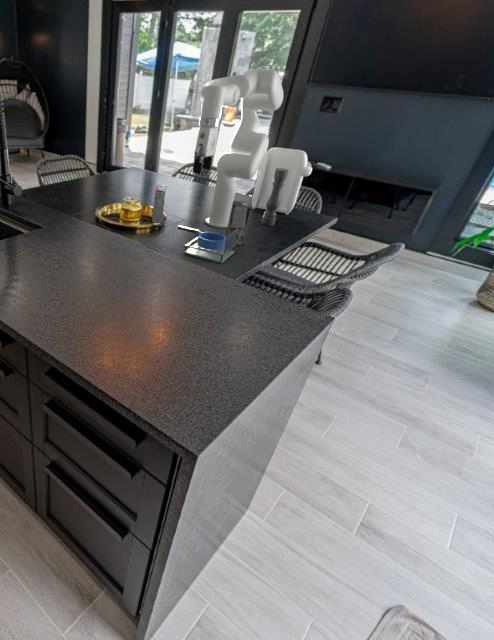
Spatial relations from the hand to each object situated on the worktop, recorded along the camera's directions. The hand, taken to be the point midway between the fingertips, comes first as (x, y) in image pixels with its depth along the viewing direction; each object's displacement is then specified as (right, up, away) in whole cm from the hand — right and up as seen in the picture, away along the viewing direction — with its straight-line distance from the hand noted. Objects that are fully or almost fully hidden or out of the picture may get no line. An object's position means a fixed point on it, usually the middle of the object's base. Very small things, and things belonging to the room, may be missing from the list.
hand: (201, 170), depth 161 cm
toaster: (+52, +2, +56) cm, 76 cm away
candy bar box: (-13, -11, +33) cm, 37 cm away
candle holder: (+42, -11, +36) cm, 56 cm away
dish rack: (+4, -32, +3) cm, 33 cm away
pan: (0, -28, +4) cm, 28 cm away
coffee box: (+18, -24, +16) cm, 34 cm away
